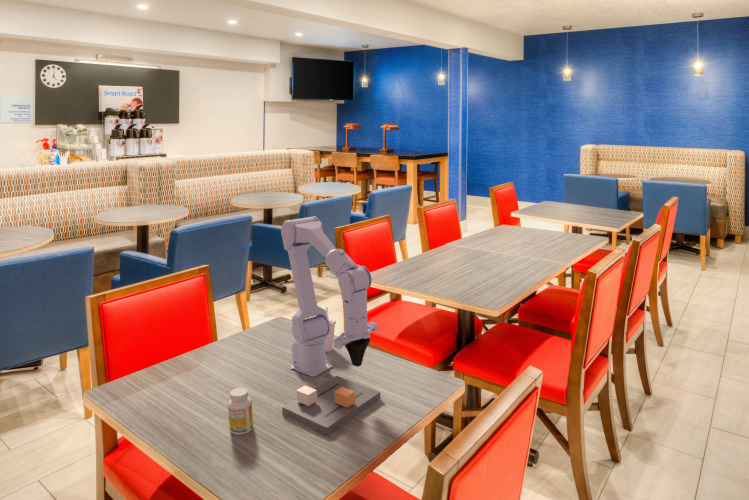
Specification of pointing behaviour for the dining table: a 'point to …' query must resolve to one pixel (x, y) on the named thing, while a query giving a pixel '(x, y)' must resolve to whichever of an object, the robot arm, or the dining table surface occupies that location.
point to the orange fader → (344, 397)
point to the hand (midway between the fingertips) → (356, 364)
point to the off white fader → (306, 395)
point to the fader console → (331, 406)
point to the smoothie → (330, 334)
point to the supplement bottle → (240, 412)
